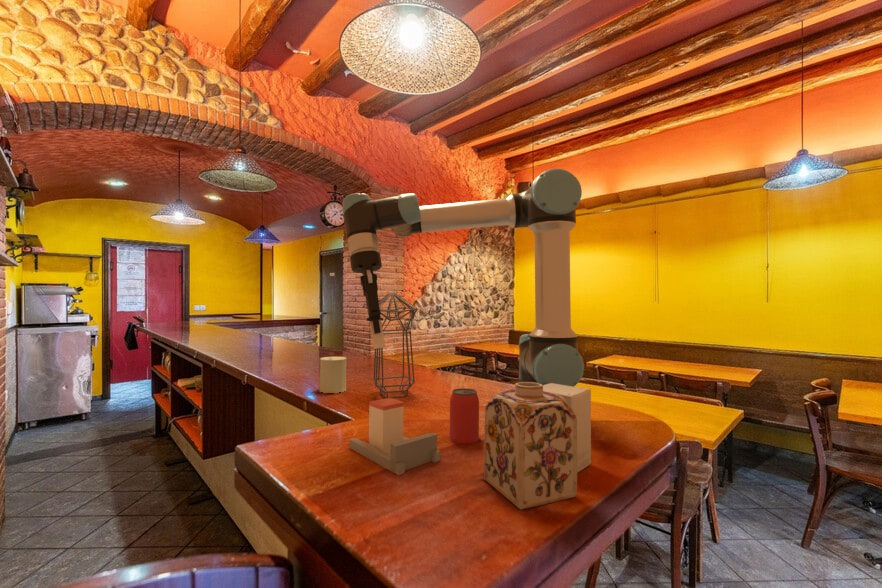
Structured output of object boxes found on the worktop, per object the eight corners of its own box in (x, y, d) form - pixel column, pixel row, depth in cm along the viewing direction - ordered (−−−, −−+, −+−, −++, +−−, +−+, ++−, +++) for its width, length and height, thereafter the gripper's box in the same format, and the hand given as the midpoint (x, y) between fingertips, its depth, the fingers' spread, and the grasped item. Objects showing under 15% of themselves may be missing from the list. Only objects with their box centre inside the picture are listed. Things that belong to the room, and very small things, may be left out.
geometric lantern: (420, 399, 129) (419, 292, 129) (372, 403, 125) (371, 293, 125) (411, 388, 144) (410, 292, 144) (368, 391, 140) (367, 293, 140)
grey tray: (343, 455, 81) (343, 425, 81) (391, 442, 89) (391, 414, 89) (401, 490, 66) (402, 453, 66) (453, 470, 74) (453, 437, 74)
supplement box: (592, 464, 78) (593, 388, 78) (571, 478, 72) (572, 396, 72) (551, 451, 84) (551, 381, 85) (528, 463, 78) (529, 387, 78)
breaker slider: (368, 449, 80) (369, 401, 81) (388, 443, 84) (389, 397, 84) (382, 456, 77) (383, 406, 77) (403, 450, 80) (403, 402, 80)
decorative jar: (519, 512, 60) (520, 393, 60) (481, 480, 71) (482, 379, 71) (580, 497, 65) (580, 387, 65) (536, 469, 75) (536, 375, 76)
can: (314, 393, 136) (315, 358, 136) (326, 387, 145) (327, 354, 145) (339, 394, 134) (340, 359, 135) (350, 388, 143) (350, 355, 144)
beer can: (477, 451, 84) (477, 395, 84) (446, 448, 85) (447, 393, 86) (480, 441, 91) (480, 388, 91) (452, 438, 92) (452, 387, 92)
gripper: (350, 264, 104) (363, 353, 99) (348, 247, 91) (363, 347, 86) (378, 260, 105) (393, 347, 101) (380, 243, 93) (397, 341, 88)
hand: (379, 347), depth 93 cm, fingers closed
